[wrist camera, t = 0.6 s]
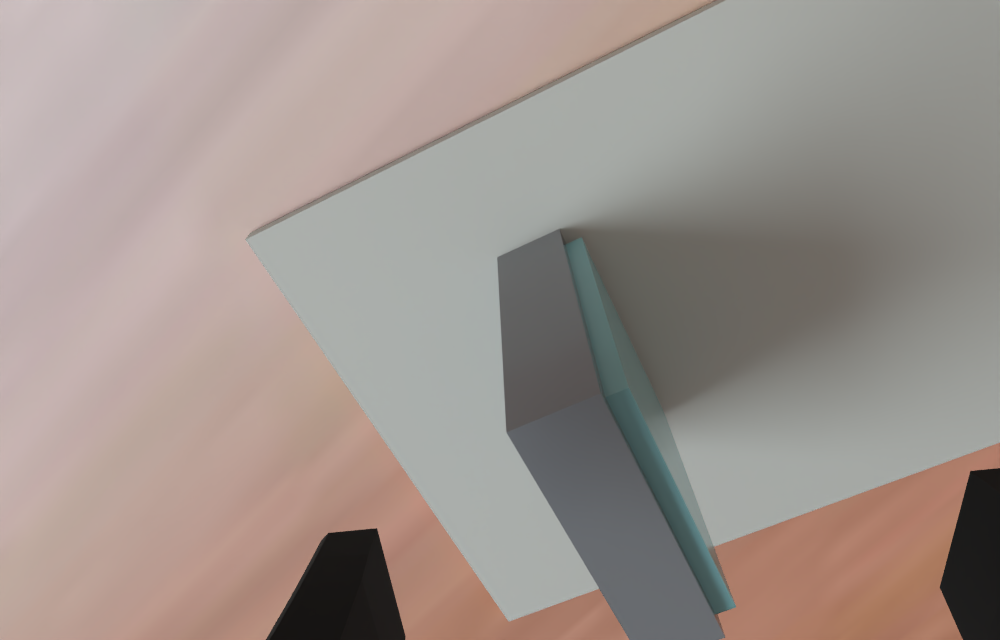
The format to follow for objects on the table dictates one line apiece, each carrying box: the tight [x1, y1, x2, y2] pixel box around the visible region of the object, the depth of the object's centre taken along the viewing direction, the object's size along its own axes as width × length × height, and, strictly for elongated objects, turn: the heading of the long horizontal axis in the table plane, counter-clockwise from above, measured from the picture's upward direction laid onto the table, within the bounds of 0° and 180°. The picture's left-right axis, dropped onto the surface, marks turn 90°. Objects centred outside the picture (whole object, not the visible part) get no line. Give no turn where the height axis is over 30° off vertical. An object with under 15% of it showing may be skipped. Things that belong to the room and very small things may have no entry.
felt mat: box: [246, 0, 1000, 621], centre depth 19 cm, size 20×14×1 cm
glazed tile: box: [497, 229, 736, 640], centre depth 17 cm, size 2×6×7 cm, turn 26°
